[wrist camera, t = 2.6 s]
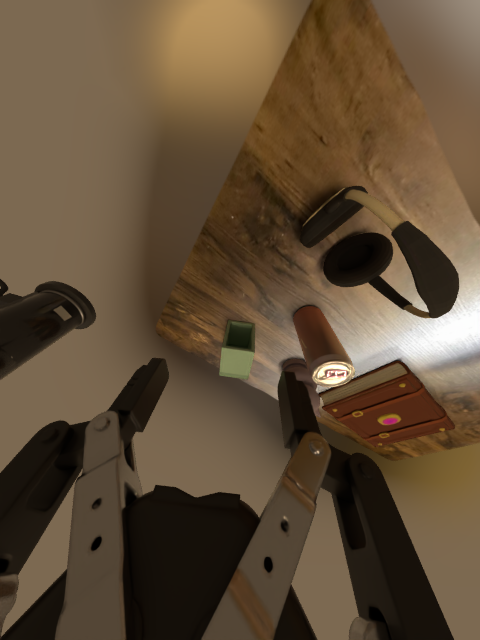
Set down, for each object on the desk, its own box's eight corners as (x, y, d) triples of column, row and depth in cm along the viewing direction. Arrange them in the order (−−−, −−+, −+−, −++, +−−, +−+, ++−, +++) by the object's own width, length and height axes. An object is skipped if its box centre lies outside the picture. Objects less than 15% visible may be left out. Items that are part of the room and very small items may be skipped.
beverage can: (321, 326, 38) (352, 387, 25) (292, 329, 39) (310, 388, 26) (323, 302, 34) (360, 358, 22) (292, 306, 35) (311, 362, 23)
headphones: (335, 168, 23) (531, 84, 7) (379, 252, 29) (546, 321, 12) (282, 219, 27) (324, 245, 10) (329, 285, 32) (406, 371, 16)
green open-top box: (228, 319, 38) (221, 347, 31) (254, 323, 39) (254, 352, 31) (225, 345, 43) (219, 375, 36) (249, 349, 43) (247, 379, 36)
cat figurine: (317, 360, 43) (335, 407, 34) (304, 379, 48) (316, 425, 38) (285, 353, 43) (294, 398, 33) (274, 372, 47) (279, 417, 37)
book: (368, 433, 62) (376, 449, 58) (316, 394, 51) (322, 411, 47) (445, 412, 51) (461, 430, 47) (400, 357, 41) (417, 375, 37)
